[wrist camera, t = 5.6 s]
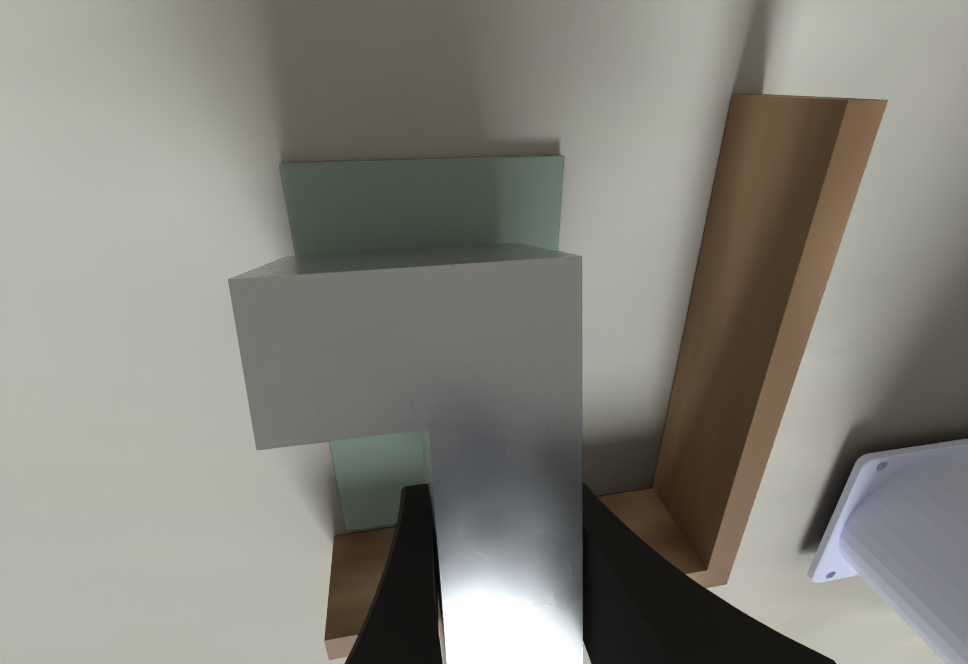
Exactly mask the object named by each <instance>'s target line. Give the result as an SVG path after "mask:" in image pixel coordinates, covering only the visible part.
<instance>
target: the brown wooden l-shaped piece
mask: <svg viewBox="0 0 968 664" xmlns="http://www.w3.org/2000/svg"><path fill="white" fill-rule="evenodd" d="M887 101H888V100H877V99H855V98H834V97H812V96H790V95H768V94H740V95H732V99H731V103H730V108H729V113H728V118H727V123H726V128H725V133H724V138H723V143H722V148H721V153H720V158H719V162H718V167H717V172H716V177H715V182H714V187H713V192H712V197H711V202H710V207H709V212H708V217H707V222H706V226H705V231H704V236H703V241H702V246H701V251H700V256H699V261H698V266H697V271H696V276H695V281H694V285H693V290H692V295H691V300H690V305H689V310H688V315H687V320H686V325H685V330H684V335H683V340H682V344H681V349H680V354H679V359H678V364H677V369H676V374H675V379H674V384H673V389H672V394H671V399H670V403H669V408H668V413H667V418H666V423H665V428H664V433H663V438H662V443H661V448H660V453H659V458H658V462H657V467H656V472H655V477H654V482H653V487H652V488H651V489H644V490H637V491H631V492H624V493H618V494H611V495H604V496H598V498H599V499H600V500H601V501H602V502H603V503H604V504H605V505H606V506H607V507H608V508H609V509H610V510H611V511H612V512H613V513H614V514H615V515H616V516H617V517H618V518H619V519H620V520H621V521H622V522H624V523H625V524H626V525H627V526H628V527H629V528H630V529H631V530H632V531H633V532H634V533H635V534H637V535H638V536H639V537H640V538H641V539H642V540H643V541H645V542H646V543H647V544H648V545H649V546H650V547H652V548H653V549H654V550H655V551H656V552H658V553H659V554H660V555H661V556H662V557H664V558H665V559H666V560H667V561H669V562H670V563H671V564H673V565H674V566H675V567H677V568H678V569H679V570H681V571H682V572H683V573H685V574H686V575H687V576H689V577H690V578H691V579H693V580H694V581H696V582H697V583H698V584H700V585H701V586H703V587H704V588H709V587H714V586H720V585H725V584H727V581H728V578H729V575H730V572H731V569H732V566H733V563H734V560H735V557H736V554H737V551H738V548H739V545H740V542H741V539H742V536H743V533H744V530H745V527H746V524H747V521H748V518H749V515H750V512H751V509H752V506H753V503H754V500H755V497H756V494H757V491H758V488H759V485H760V482H761V479H762V476H763V473H764V470H765V467H766V464H767V461H768V458H769V455H770V452H771V449H772V446H773V443H774V440H775V437H776V434H777V431H778V428H779V425H780V422H781V419H782V416H783V413H784V410H785V407H786V404H787V401H788V398H789V395H790V392H791V389H792V386H793V383H794V380H795V377H796V374H797V371H798V368H799V365H800V362H801V359H802V356H803V353H804V350H805V347H806V344H807V341H808V338H809V335H810V332H811V329H812V326H813V323H814V320H815V317H816V314H817V311H818V308H819V305H820V302H821V299H822V296H823V293H824V290H825V287H826V284H827V281H828V278H829V275H830V272H831V269H832V266H833V263H834V260H835V257H836V254H837V251H838V248H839V245H840V242H841V239H842V236H843V233H844V230H845V227H846V224H847V221H848V218H849V215H850V212H851V209H852V206H853V203H854V200H855V197H856V194H857V191H858V188H859V185H860V182H861V179H862V176H863V173H864V170H865V167H866V164H867V161H868V158H869V155H870V152H871V149H872V146H873V143H874V140H875V137H876V134H877V131H878V128H879V125H880V122H881V119H882V116H883V113H884V110H885V107H886V104H887ZM395 528H396V527H392V528H386V529H379V530H373V531H366V532H359V533H353V534H346V535H339V536H334V543H333V553H332V564H331V575H330V586H329V597H328V608H327V619H326V630H325V640H324V641H325V645H326V649H327V653H328V657H329V660H332V659H337V658H342V657H347V656H349V653H350V651H351V649H352V647H353V645H354V643H355V641H356V639H357V637H358V634H359V632H360V630H361V627H362V625H363V623H364V621H365V618H366V616H367V613H368V611H369V609H370V606H371V603H372V601H373V598H374V596H375V593H376V590H377V587H378V584H379V582H380V579H381V576H382V573H383V570H384V567H385V564H386V561H387V558H388V554H389V551H390V547H391V543H392V540H393V536H394V532H395ZM438 622H439V620H438ZM439 639H441V636H440V628H439Z"/></svg>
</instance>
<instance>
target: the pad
mask: <svg viewBox="0 0 968 664" xmlns="http://www.w3.org/2000/svg"><path fill="white" fill-rule="evenodd" d="M279 166H280V172H281V177H282V183H283V188H284V194H285V200H286V205H287V211H288V216H289V222H290V227H291V233H292V238H293V244H294V249H295V255H296V256H297V255H314V254H331V253H348V252H364V251H381V250H398V249H414V248H431V247H448V246H465V245H481V244H498V243H520V244H525V245H530V246H535V247H540V248H545V249H550V250H555V251H558V241H559V226H560V212H561V197H562V182H563V168H564V156H562V155H541V156H508V157H474V158H440V159H406V160H372V161H338V162H304V163H281V164H280V165H279ZM329 443H330V448H331V454H332V459H333V465H334V470H335V476H336V481H337V487H338V492H339V498H340V503H341V509H342V514H343V520H344V525H345V531H350V530H357V529H364V528H370V527H377V526H384V525H390V524H396V523H397V519H398V513H399V507H400V498H401V490H402V489H403V488H404V487H405V486H411V485H419V484H425V477H424V465H423V453H422V441H421V430H420V431H411V432H403V433H395V434H387V435H378V436H370V437H362V438H354V439H345V440H337V441H329Z"/></svg>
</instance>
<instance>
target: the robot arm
mask: <svg viewBox="0 0 968 664" xmlns="http://www.w3.org/2000/svg"><path fill="white" fill-rule="evenodd" d="M582 542H583V642H584V644H585V647H586V650H587V652H588V655H589V658H590V661H591V663H592V664H836V663H835V661H834V660H832V659H830V658H828V657H826V656H824V655H822V654H820V653H818V652H816V651H814V650H812V649H810V648H808V647H806V646H804V645H802V644H800V643H798V642H796V641H794V640H792V639H790V638H788V637H786V636H784V635H782V634H780V633H779V632H777V631H775V630H773V629H771V628H770V627H768V626H766V625H764V624H763V623H761V622H759V621H757V620H755V619H754V618H752V617H750V616H748V615H747V614H745V613H743V612H742V611H740V610H739V609H737V608H735V607H734V606H732V605H731V604H729V603H728V602H726V601H724V600H723V599H721V598H720V597H718V596H717V595H715V594H714V593H712V592H710V591H709V590H707V589H706V588H704V587H703V586H701V585H700V584H698V583H697V582H696V581H694V580H693V579H691V578H690V577H689V576H687V575H686V574H685V573H683V572H682V571H681V570H679V569H678V568H677V567H675V566H674V565H673V564H671V563H670V562H669V561H667V560H666V559H665V558H664V557H662V556H661V555H660V554H659V553H658V552H656V551H655V550H654V549H653V548H652V547H650V546H649V545H648V544H647V543H646V542H645V541H643V540H642V539H641V538H640V537H639V536H638V535H637V534H635V533H634V532H633V531H632V530H631V529H630V528H629V527H628V526H627V525H626V524H625V523H624V522H622V521H621V520H620V519H619V518H618V517H617V516H616V515H615V514H614V513H613V512H612V511H611V510H610V509H609V508H608V507H607V506H606V505H605V504H604V503H603V502H602V501H601V500H600V499H599V498H598V497H597V496H596V495H595V494H594V493H593V492H592V491H591V490H590V489H589V488H588V487H587V486H586V485H585V484H584V483H583V481H582ZM807 575H808V577H809V578H810V579H811V580H812V581H813V582H815V583H820V582H825V581H831V580H836V579H841V578H846V577H851V576H856V575H860V576H861V577H862V578H863V579H864V580H865V582H866V583H867V584H868V585H869V586H870V587H871V588H872V589H873V590H874V591H875V592H876V593H877V594H878V595H879V596H880V597H881V598H882V599H883V600H884V601H885V602H886V603H887V604H888V605H889V606H890V607H891V608H892V609H893V610H894V611H895V612H896V614H897V615H898V616H899V617H900V618H901V619H902V620H903V621H904V622H905V623H906V624H907V625H908V626H909V627H910V628H911V629H912V630H913V631H914V632H915V633H916V634H917V635H918V636H919V637H920V638H921V639H922V640H923V641H924V642H925V643H926V644H927V646H928V647H929V648H930V649H931V650H932V651H933V652H934V653H935V654H936V655H937V656H938V657H939V658H940V659H941V660H942V661H943V662H944V663H945V664H968V439H961V440H955V441H948V442H941V443H935V444H928V445H921V446H915V447H908V448H901V449H895V450H888V451H881V452H875V453H868V454H865V455H863V456H861V457H860V458H859V459H858V460H857V461H856V463H855V465H854V467H853V469H852V471H851V474H850V476H849V478H848V481H847V483H846V485H845V487H844V490H843V492H842V494H841V497H840V499H839V501H838V503H837V506H836V508H835V510H834V513H833V515H832V517H831V519H830V522H829V524H828V526H827V529H826V531H825V533H824V535H823V538H822V540H821V542H820V545H819V547H818V549H817V551H816V554H815V556H814V558H813V561H812V563H811V565H810V567H809V570H808V573H807ZM345 664H442V656H441V647H440V639H439V622H438V589H437V574H436V559H435V545H434V530H433V515H432V507H431V501H430V494H429V488H428V483H426V484H419V485H411V486H405V487H404V488H403V489H402V490H401V498H400V507H399V513H398V519H397V523H396V528H395V532H394V536H393V540H392V543H391V547H390V551H389V554H388V558H387V561H386V564H385V567H384V570H383V573H382V576H381V579H380V582H379V584H378V587H377V590H376V593H375V596H374V598H373V601H372V603H371V606H370V609H369V611H368V613H367V616H366V618H365V621H364V623H363V625H362V627H361V630H360V632H359V634H358V637H357V639H356V641H355V643H354V645H353V647H352V649H351V651H350V653H349V656H348V658H347V660H346V662H345Z"/></svg>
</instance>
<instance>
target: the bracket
mask: <svg viewBox="0 0 968 664" xmlns="http://www.w3.org/2000/svg"><path fill="white" fill-rule="evenodd" d="M228 282H229V288H230V294H231V300H232V306H233V312H234V318H235V324H236V330H237V336H238V342H239V348H240V354H241V360H242V366H243V372H244V378H245V384H246V390H247V396H248V402H249V408H250V413H251V419H252V425H253V431H254V437H255V443H256V449H257V450H263V449H271V448H280V447H288V446H296V445H304V444H313V443H321V442H329V441H337V440H345V439H354V438H362V437H370V436H378V435H387V434H395V433H403V432H411V431H420V430H421V441H422V453H423V465H424V477H425V484H426V483H428V488H429V494H430V501H431V507H432V515H433V530H434V545H435V559H436V574H437V589H438V620H439V628H440V636H441V644H442V652H443V660H444V664H583V542H582V256H580V255H575V254H570V253H565V252H560V251H555V250H550V249H545V248H540V247H535V246H530V245H525V244H520V243H498V244H481V245H465V246H448V247H431V248H414V249H398V250H381V251H364V252H348V253H331V254H314V255H297V256H287V257H284V258H281V259H279V260H276V261H274V262H271V263H269V264H266V265H264V266H261V267H258V268H256V269H253V270H251V271H248V272H246V273H243V274H240V275H238V276H235V277H233V278H230V279H228Z"/></svg>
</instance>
